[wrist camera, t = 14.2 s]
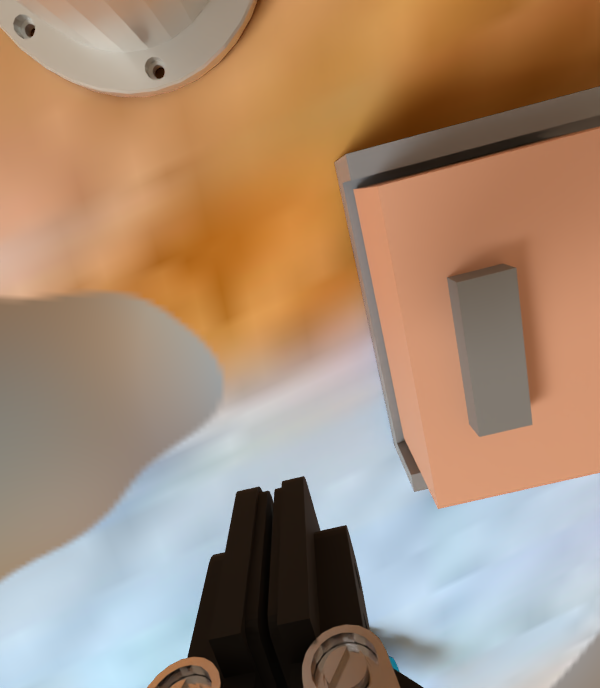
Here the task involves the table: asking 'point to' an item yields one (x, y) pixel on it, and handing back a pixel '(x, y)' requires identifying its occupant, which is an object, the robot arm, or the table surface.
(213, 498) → the table surface
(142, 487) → the table surface
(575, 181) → the slider
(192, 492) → the table surface
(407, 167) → the grey shallow rimmed piece
